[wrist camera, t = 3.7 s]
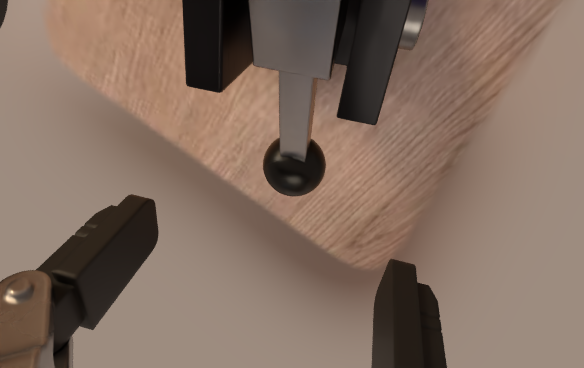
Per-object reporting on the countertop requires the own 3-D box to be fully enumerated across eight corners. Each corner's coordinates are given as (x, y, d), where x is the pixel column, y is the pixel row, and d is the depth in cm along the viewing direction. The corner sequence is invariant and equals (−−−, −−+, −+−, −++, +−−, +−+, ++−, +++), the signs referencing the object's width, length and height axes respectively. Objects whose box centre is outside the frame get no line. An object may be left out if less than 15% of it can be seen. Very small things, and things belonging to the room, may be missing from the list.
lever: (327, 163, 18) (315, 212, 17) (273, 151, 18) (257, 199, 17) (376, -79, 9) (358, -9, 7) (263, -96, 9) (226, -32, 8)
